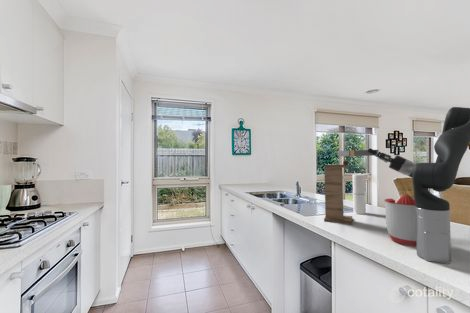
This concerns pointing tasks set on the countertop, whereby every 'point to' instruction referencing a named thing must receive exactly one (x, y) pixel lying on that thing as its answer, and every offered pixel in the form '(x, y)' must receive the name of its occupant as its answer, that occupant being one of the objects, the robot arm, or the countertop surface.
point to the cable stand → (335, 194)
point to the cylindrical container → (359, 194)
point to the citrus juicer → (401, 220)
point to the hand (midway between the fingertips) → (368, 150)
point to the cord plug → (355, 153)
